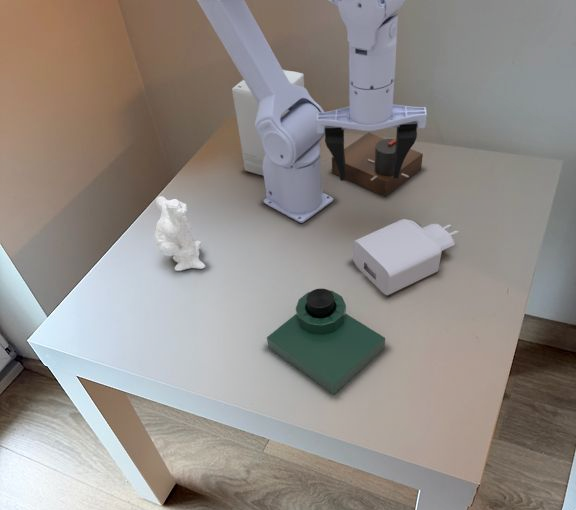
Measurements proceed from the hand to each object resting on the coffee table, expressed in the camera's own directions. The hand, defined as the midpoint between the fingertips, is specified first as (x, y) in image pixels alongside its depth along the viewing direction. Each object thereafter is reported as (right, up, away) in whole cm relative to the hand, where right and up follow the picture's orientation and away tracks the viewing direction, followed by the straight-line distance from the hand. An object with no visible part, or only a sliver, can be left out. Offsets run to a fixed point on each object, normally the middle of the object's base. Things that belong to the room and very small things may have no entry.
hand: (369, 175), depth 79 cm
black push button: (-8, -21, -8) cm, 23 cm away
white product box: (-14, +10, +21) cm, 27 cm away
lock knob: (+5, +6, +11) cm, 13 cm away
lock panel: (+4, +6, +15) cm, 17 cm away
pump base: (-7, -26, -7) cm, 28 cm away
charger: (+7, -12, +2) cm, 14 cm away
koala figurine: (-28, -11, +7) cm, 31 cm away
